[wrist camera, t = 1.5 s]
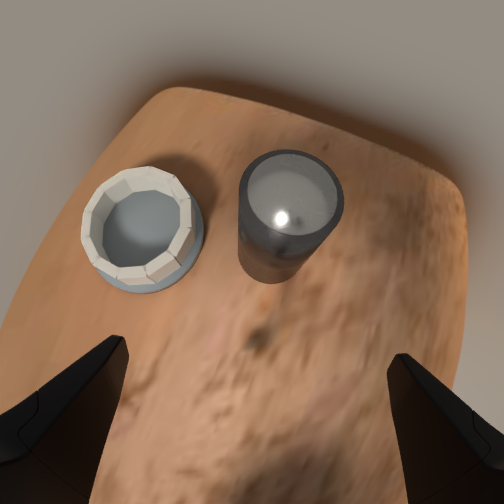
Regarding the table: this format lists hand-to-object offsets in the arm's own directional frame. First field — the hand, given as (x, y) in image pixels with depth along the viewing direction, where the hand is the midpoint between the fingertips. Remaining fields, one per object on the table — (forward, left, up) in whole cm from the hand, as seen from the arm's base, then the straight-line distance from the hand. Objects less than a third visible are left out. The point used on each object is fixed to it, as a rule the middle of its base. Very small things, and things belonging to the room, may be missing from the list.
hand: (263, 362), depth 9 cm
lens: (+2, -8, -13) cm, 15 cm away
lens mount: (+12, -5, -13) cm, 18 cm away
